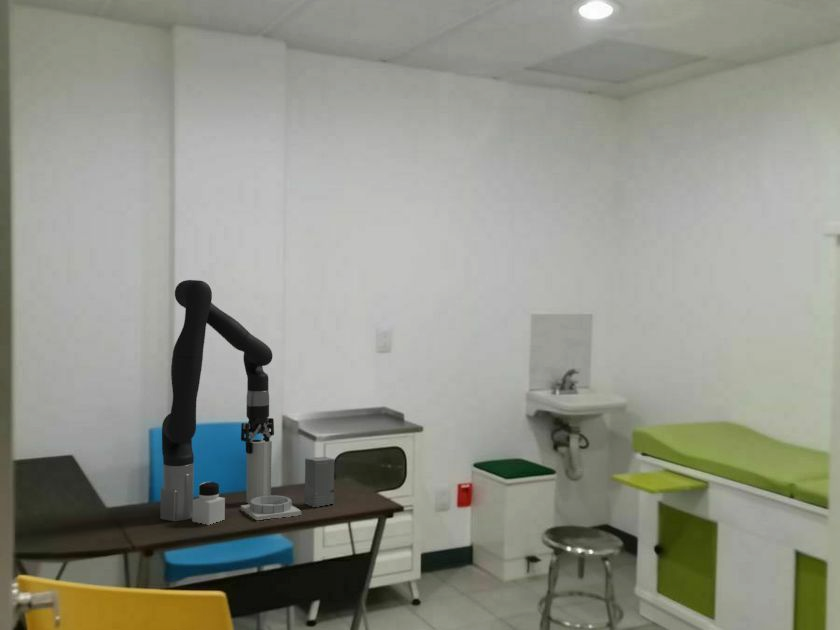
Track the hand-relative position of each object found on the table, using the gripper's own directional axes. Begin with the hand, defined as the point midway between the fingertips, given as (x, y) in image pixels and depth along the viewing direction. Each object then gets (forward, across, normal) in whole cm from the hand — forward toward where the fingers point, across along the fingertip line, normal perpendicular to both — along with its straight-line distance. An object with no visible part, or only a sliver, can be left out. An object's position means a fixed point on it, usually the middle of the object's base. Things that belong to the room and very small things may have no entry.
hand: (257, 451), depth 281 cm
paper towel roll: (+18, 0, 0) cm, 18 cm away
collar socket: (+18, +7, +11) cm, 22 cm away
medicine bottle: (+18, +25, +1) cm, 31 cm away
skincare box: (+18, -10, +18) cm, 28 cm away
